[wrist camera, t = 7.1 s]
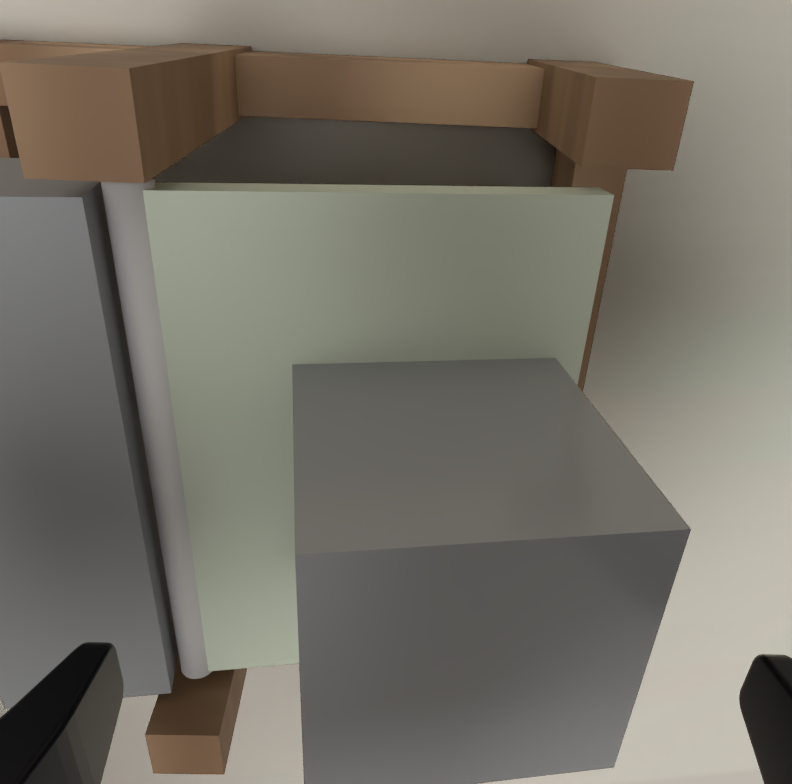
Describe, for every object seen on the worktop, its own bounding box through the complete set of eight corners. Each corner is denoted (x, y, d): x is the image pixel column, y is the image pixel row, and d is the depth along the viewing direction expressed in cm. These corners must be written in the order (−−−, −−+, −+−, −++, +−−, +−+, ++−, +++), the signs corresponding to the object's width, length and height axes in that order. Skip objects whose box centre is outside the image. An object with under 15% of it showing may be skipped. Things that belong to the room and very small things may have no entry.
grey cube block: (521, 555, 15) (613, 767, 11) (299, 571, 15) (304, 803, 10) (555, 357, 13) (691, 528, 9) (292, 364, 12) (295, 554, 8)
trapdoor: (47, 607, 17) (6, 711, 15) (-84, 150, 12) (-186, 187, 9) (499, 574, 19) (533, 662, 16) (563, 161, 14) (628, 196, 11)
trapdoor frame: (87, 522, 23) (-61, 770, 15) (-25, 33, 16) (-403, 44, 8) (534, 533, 23) (604, 779, 16) (618, 63, 16) (820, 98, 9)
